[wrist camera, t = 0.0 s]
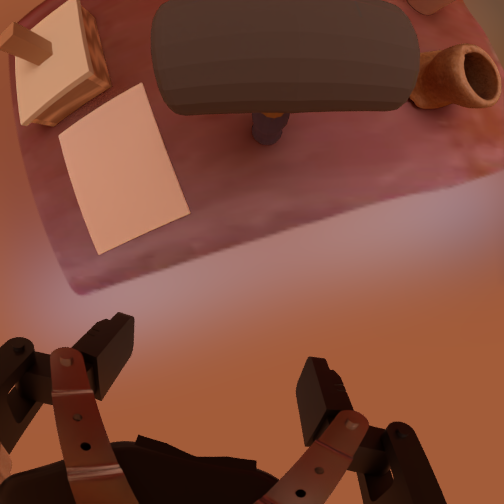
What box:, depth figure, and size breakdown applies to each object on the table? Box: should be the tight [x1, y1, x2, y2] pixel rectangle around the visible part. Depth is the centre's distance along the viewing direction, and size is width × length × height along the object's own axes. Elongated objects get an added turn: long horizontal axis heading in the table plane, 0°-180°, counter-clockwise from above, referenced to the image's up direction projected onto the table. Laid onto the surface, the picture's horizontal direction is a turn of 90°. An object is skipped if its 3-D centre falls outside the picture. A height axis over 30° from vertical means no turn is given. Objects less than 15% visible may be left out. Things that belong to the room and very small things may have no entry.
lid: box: [0, 0, 94, 126], centre depth 22 cm, size 19×14×12 cm
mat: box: [59, 83, 191, 255], centre depth 38 cm, size 22×17×1 cm
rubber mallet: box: [151, 0, 420, 145], centre depth 22 cm, size 12×8×30 cm, turn 94°
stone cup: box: [409, 44, 501, 109], centre depth 27 cm, size 15×12×15 cm
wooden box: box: [32, 6, 112, 127], centre depth 30 cm, size 18×13×7 cm
